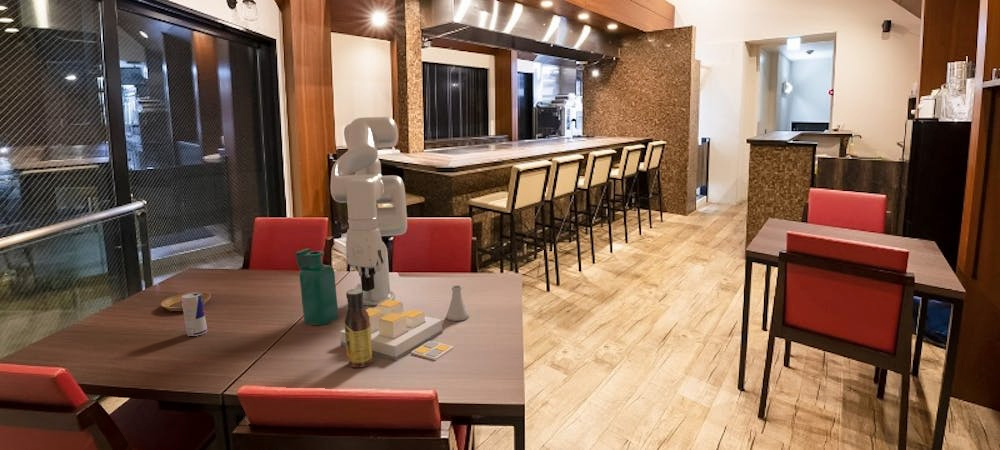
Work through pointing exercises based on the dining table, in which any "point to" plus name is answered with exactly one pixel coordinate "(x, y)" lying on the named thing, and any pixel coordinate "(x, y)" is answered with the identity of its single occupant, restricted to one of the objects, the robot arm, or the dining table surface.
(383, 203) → the robot arm
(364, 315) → the sauce bottle
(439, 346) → the card
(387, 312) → the button
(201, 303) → the energy drink
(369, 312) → the button
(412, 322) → the button
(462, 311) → the flask
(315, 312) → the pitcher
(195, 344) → the dining table surface
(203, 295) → the plant saucer
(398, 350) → the button board
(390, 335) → the button
